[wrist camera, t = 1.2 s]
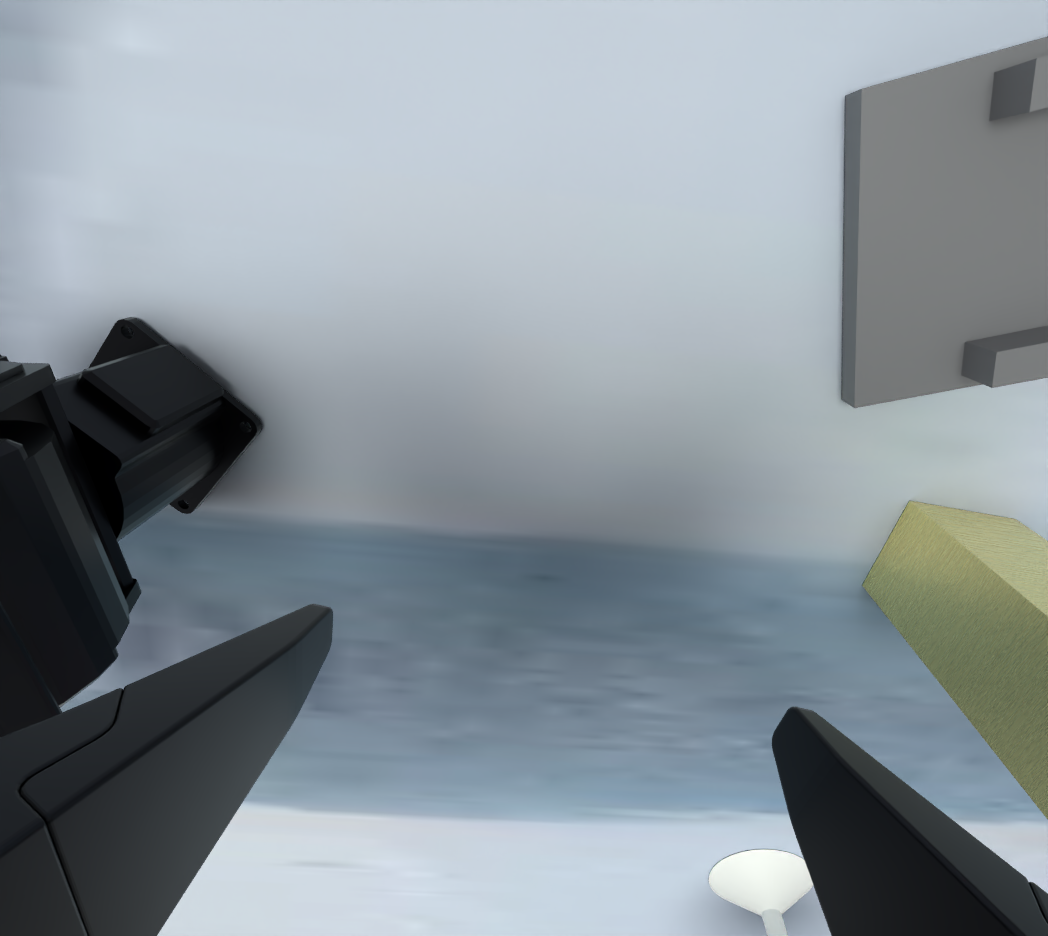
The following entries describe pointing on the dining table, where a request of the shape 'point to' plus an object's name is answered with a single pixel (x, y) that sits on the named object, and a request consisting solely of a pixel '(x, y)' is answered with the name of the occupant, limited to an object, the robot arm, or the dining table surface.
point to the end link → (976, 623)
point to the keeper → (947, 229)
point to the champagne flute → (762, 884)
